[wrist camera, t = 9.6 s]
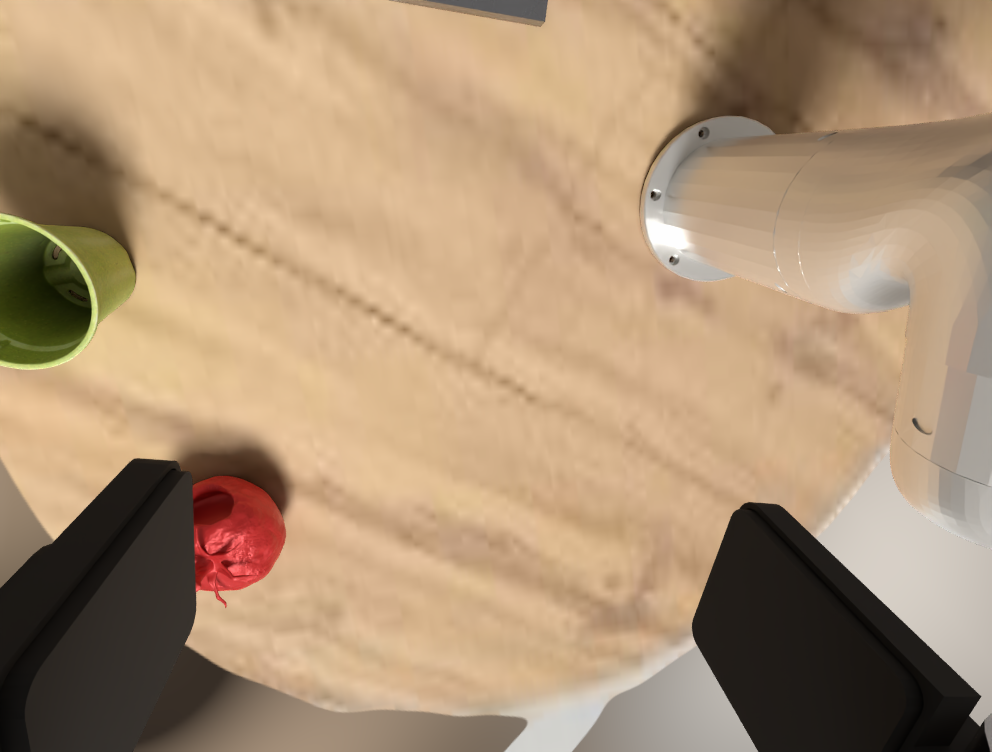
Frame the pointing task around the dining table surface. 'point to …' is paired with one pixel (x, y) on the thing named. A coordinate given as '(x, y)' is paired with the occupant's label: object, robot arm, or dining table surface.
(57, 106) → the dining table surface
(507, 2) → the charcoal stand
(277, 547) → the pomegranate
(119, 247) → the plant pot
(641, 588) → the dining table surface
